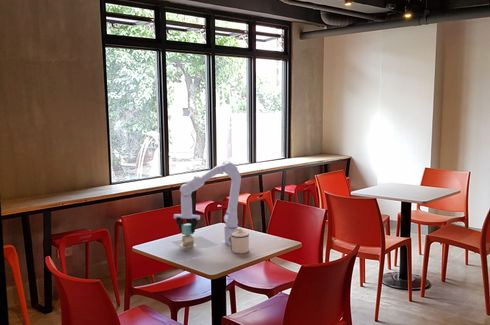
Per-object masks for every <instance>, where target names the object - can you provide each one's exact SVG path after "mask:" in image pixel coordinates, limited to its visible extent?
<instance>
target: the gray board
mask: <svg viewBox="0 0 490 325" xmlns="http://www.w3.org/2000/svg"><path fill="white" fill-rule="evenodd" d="M193 239H194V245H193V246H188V247H185V246H184V245H182V239H178V240H174V241H171V243H172V244H174V245H176V246H177V247H179V248H181V249H182V250H184V251H186V252H189V251H196V250H199V249H204V248H209V247H214V246H215V247H216V246H218V244H216V243H215V242H213V241H211V240H209V239H207V238H205V237H204V236H196V237H193Z"/></svg>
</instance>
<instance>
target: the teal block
mask: <svg viewBox="0 0 490 325" xmlns="http://www.w3.org/2000/svg"><path fill="white" fill-rule="evenodd" d="M181 229H182V232H181V235H182V236H183V235H186V236H187V235H194V233H195V232H194V233H192V227H191V223H189V222H188V223H183V225H181Z"/></svg>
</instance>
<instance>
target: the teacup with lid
mask: <svg viewBox="0 0 490 325" xmlns="http://www.w3.org/2000/svg"><path fill="white" fill-rule="evenodd" d="M249 236H250V234H249V232H248V231H244V230H243V229H242V228H241V227H240V228H239V227H238V230H237V231H236V232H233V233H232V234H231V236H229V242H230V244H231V245H230V244H229V245H230V246H231V251H232V253H234V254H246V253H249V251H250V247H249V246H250V241H249V240H250V238H249ZM231 237H232V241H231Z"/></svg>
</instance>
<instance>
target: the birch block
mask: <svg viewBox="0 0 490 325" xmlns="http://www.w3.org/2000/svg"><path fill="white" fill-rule="evenodd" d="M181 237H182V238H181V240H182V245H184V246H185V247H188V246H193V245H194V239H193V238H194V235H193V234H191V235H187V236H186V235H183V234H182V236H181Z"/></svg>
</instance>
